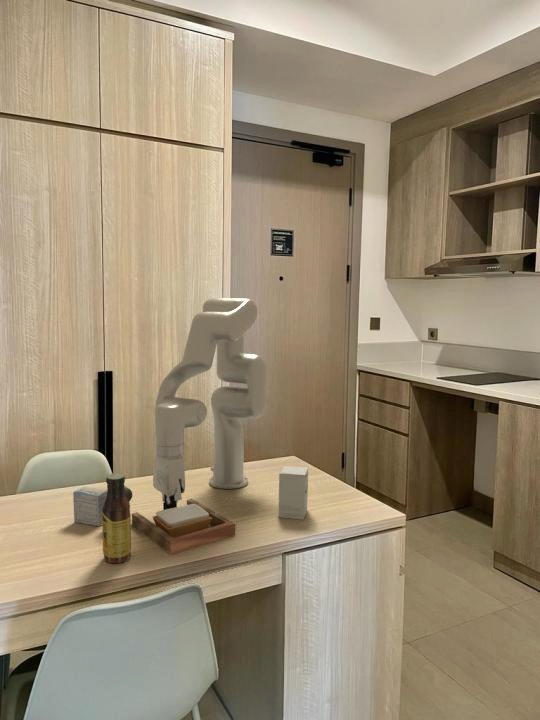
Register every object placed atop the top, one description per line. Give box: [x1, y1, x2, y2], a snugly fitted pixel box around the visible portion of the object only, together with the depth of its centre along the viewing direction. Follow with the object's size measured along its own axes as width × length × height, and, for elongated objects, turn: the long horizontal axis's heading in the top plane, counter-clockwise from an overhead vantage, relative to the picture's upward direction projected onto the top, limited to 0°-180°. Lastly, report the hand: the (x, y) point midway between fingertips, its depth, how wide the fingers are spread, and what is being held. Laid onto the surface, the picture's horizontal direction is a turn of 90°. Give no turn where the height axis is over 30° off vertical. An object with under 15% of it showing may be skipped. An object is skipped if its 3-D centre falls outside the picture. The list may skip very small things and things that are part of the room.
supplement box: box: [277, 465, 309, 520], centre depth 154 cm, size 7×7×13 cm
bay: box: [124, 485, 236, 555], centre depth 142 cm, size 25×23×11 cm
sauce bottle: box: [101, 472, 132, 564], centre depth 126 cm, size 6×6×20 cm
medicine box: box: [72, 486, 107, 527], centre depth 147 cm, size 8×4×9 cm, turn 71°
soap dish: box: [152, 504, 212, 538], centre depth 142 cm, size 12×10×5 cm
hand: (170, 516), depth 148 cm, fingers closed
